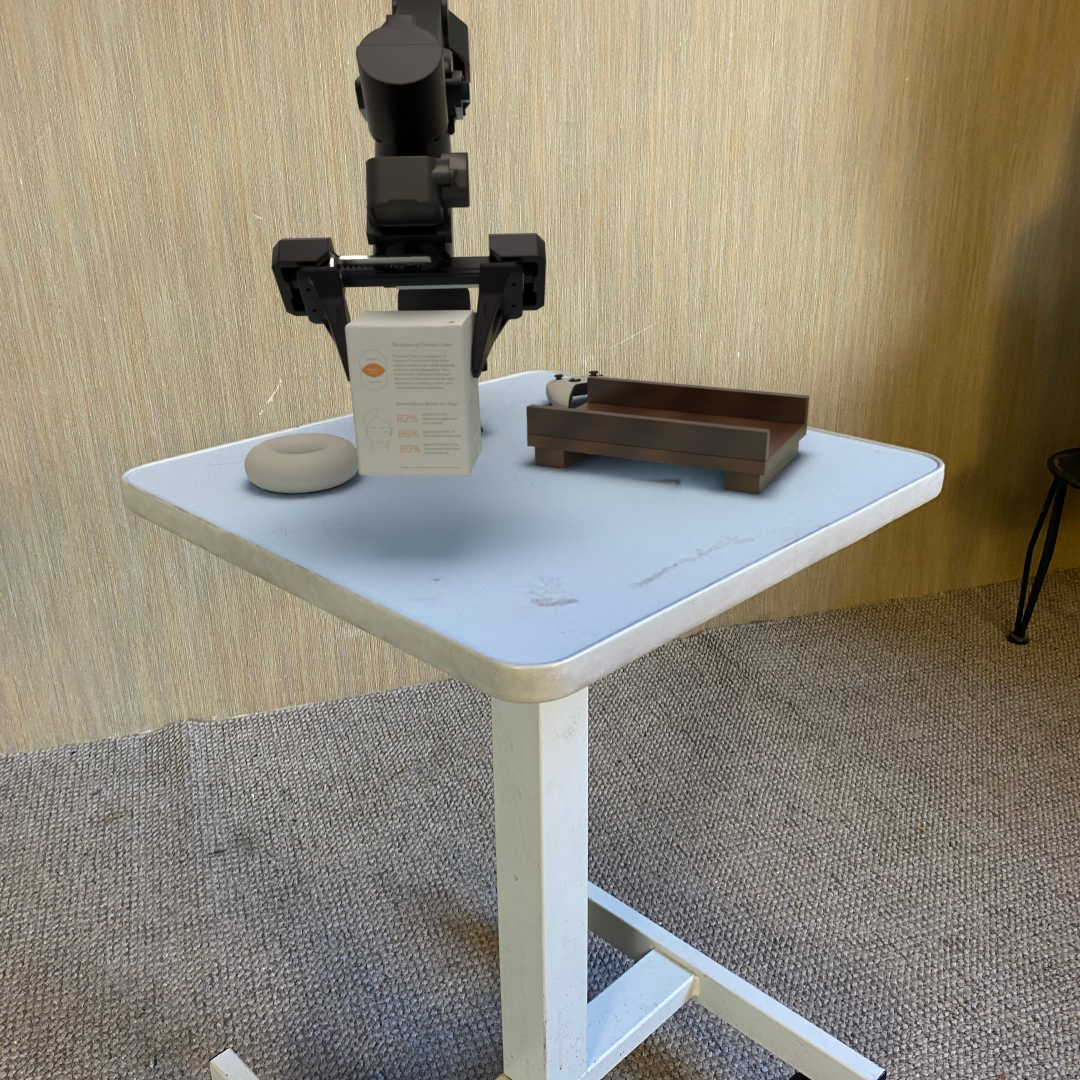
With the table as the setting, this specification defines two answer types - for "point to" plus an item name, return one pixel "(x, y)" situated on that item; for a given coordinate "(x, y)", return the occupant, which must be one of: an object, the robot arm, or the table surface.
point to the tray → (675, 428)
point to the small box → (414, 392)
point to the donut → (301, 463)
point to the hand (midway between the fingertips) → (412, 376)
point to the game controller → (567, 389)
